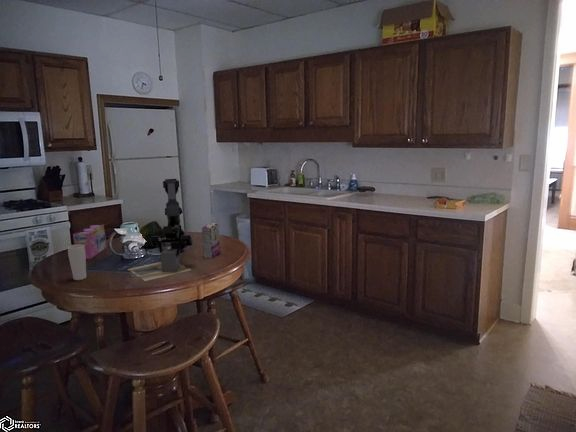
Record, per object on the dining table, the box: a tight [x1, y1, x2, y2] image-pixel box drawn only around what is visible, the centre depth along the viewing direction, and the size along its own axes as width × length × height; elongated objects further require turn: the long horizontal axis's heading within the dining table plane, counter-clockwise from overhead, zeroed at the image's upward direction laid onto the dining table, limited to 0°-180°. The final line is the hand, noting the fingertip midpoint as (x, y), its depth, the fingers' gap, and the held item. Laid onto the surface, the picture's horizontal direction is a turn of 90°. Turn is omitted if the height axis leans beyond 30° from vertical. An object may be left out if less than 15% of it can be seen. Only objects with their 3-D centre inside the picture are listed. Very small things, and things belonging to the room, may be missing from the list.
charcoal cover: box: [159, 248, 181, 272], centre depth 195 cm, size 7×7×9 cm
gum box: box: [72, 223, 108, 260], centre depth 229 cm, size 24×8×14 cm, turn 3°
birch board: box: [127, 261, 192, 282], centre depth 197 cm, size 22×22×1 cm
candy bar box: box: [201, 222, 221, 259], centre depth 217 cm, size 11×5×16 cm, turn 168°
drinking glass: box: [67, 244, 87, 281], centre depth 187 cm, size 7×7×15 cm
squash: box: [139, 220, 166, 248], centre depth 240 cm, size 14×15×15 cm
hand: (169, 256), depth 194 cm, fingers closed on charcoal cover, 7 cm apart
